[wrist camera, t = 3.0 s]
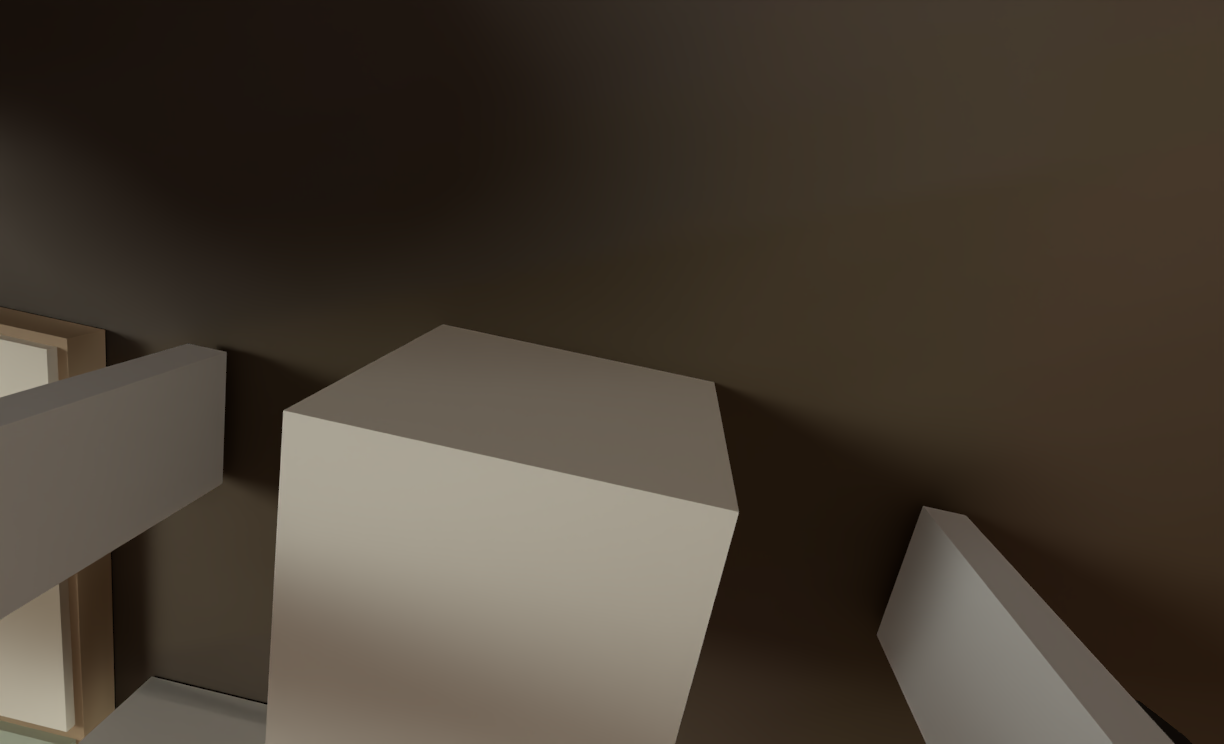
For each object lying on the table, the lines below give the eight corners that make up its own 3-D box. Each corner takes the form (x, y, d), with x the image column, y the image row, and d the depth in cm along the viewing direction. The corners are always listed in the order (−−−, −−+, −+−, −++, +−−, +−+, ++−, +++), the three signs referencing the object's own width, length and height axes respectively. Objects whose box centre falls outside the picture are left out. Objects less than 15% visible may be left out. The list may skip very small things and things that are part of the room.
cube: (444, 323, 12) (283, 410, 7) (714, 380, 12) (739, 512, 7) (415, 559, 13) (264, 768, 8) (655, 615, 13) (642, 862, 8)
